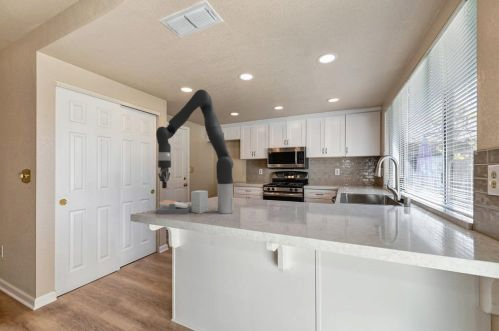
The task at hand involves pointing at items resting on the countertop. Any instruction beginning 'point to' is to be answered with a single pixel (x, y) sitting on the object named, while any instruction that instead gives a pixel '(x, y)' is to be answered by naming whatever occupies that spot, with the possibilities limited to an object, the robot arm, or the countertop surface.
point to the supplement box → (199, 201)
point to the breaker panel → (173, 209)
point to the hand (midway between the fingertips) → (164, 188)
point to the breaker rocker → (177, 204)
